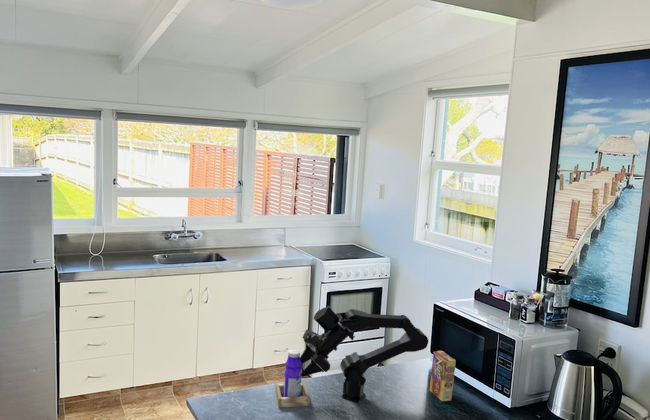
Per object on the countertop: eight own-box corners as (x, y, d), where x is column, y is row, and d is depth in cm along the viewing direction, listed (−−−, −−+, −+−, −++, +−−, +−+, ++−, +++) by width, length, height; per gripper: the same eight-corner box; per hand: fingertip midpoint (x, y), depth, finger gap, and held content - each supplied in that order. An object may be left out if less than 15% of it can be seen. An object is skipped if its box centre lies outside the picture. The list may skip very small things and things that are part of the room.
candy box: (452, 400, 198) (456, 360, 196) (442, 402, 196) (446, 361, 194) (439, 389, 206) (443, 350, 204) (429, 390, 205) (432, 351, 202)
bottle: (297, 405, 188) (299, 356, 186) (281, 402, 189) (283, 354, 187) (302, 395, 195) (305, 348, 193) (286, 392, 196) (289, 346, 194)
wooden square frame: (304, 391, 199) (305, 383, 198) (309, 405, 188) (309, 397, 188) (275, 392, 196) (275, 384, 196) (278, 407, 186) (278, 398, 186)
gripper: (313, 313, 199) (280, 343, 198) (322, 333, 181) (287, 366, 180) (333, 334, 202) (301, 364, 201) (344, 355, 183) (309, 388, 183)
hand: (299, 369), depth 191 cm, fingers open, 9 cm apart
